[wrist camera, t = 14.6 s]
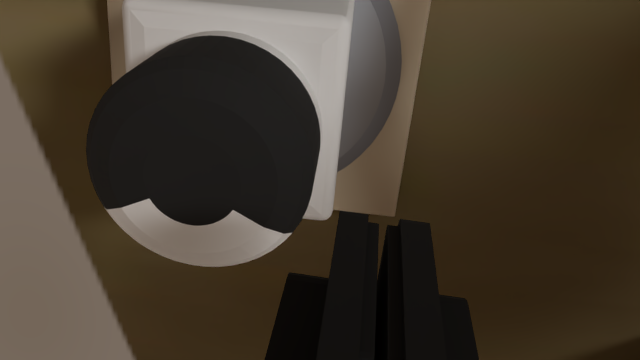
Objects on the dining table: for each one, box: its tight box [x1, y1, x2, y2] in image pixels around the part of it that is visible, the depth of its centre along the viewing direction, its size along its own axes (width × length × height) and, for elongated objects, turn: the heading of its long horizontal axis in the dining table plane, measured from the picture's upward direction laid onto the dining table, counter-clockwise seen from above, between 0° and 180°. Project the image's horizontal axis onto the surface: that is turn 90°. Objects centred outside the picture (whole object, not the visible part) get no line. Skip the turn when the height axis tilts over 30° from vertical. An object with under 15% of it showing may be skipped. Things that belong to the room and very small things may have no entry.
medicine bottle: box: [86, 0, 355, 267], centre depth 20 cm, size 7×7×12 cm
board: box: [107, 0, 431, 217], centre depth 26 cm, size 14×14×2 cm
